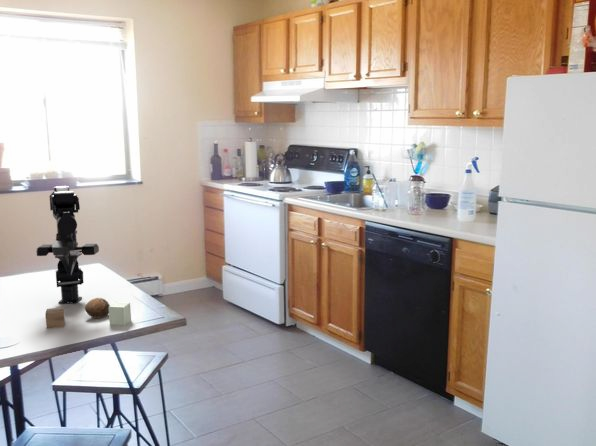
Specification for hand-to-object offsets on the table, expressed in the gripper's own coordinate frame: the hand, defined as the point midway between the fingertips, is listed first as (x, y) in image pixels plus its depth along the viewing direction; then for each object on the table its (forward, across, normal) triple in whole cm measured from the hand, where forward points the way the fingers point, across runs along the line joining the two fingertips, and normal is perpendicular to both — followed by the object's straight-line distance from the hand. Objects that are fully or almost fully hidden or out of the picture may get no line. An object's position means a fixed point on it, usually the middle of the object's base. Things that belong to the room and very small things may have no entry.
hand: (69, 274), depth 196 cm
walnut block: (+13, -1, -13) cm, 18 cm away
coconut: (+13, +10, -5) cm, 17 cm away
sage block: (+13, +19, -12) cm, 26 cm away
